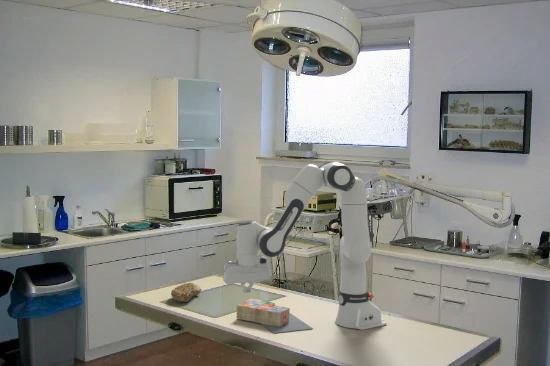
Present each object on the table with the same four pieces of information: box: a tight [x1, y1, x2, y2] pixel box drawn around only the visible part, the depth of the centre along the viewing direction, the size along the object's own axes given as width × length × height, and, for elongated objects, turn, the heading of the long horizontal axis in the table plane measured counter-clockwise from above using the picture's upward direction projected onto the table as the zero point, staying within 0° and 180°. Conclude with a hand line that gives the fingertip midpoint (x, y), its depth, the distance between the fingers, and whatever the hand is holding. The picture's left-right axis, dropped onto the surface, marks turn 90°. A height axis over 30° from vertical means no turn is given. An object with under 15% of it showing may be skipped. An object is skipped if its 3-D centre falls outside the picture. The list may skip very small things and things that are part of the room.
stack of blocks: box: [236, 298, 291, 327], centre depth 273 cm, size 21×6×12 cm
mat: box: [260, 312, 314, 334], centre depth 271 cm, size 18×26×1 cm
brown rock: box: [170, 282, 202, 303], centre depth 302 cm, size 13×8×20 cm
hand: (247, 292), depth 262 cm, fingers closed
